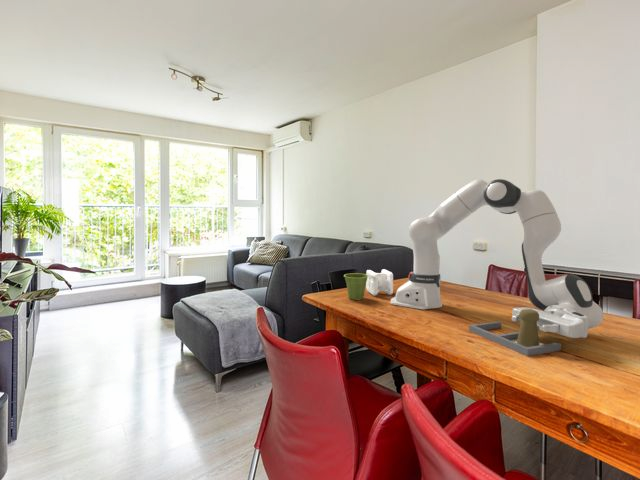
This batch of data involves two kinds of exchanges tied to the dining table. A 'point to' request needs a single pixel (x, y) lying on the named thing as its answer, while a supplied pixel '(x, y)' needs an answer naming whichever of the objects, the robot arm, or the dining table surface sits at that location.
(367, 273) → the cable organizer
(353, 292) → the plant pot
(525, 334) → the cork
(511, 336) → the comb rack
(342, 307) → the dining table surface
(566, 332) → the robot arm
